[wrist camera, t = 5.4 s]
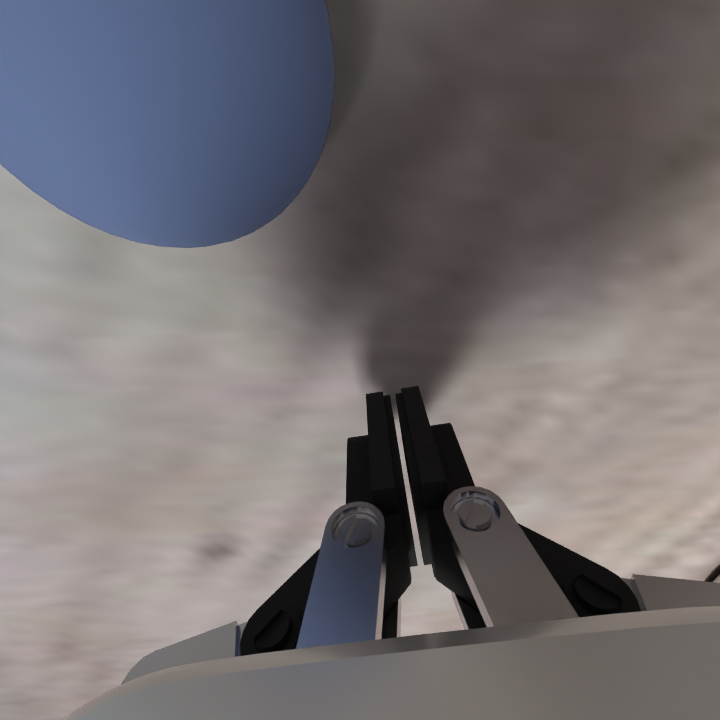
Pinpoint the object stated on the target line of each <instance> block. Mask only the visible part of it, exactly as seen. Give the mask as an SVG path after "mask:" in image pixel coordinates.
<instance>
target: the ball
mask: <svg viewBox="0 0 720 720" xmlns="http://www.w3.org/2000/svg"><path fill="white" fill-rule="evenodd" d="M333 96H334V51H333V44H332V37H331V30H330V23H329V17H328V12H327V8H326V4H325V0H0V164H1V165H2V166H3V167H4V168H5V169H6V170H8V171H9V172H10V173H11V174H12V175H14V176H15V177H16V178H17V179H19V180H20V181H21V182H22V183H23V184H25V185H26V186H27V187H28V188H29V189H31V190H32V191H33V192H35V193H36V194H38V195H39V196H41V197H42V198H44V199H45V200H47V201H48V202H49V203H51V204H52V205H54V206H55V207H57V208H58V209H60V210H62V211H64V212H65V213H67V214H69V215H71V216H73V217H75V218H76V219H78V220H80V221H82V222H84V223H86V224H88V225H90V226H92V227H95V228H97V229H100V230H102V231H104V232H107V233H109V234H112V235H115V236H118V237H121V238H125V239H128V240H131V241H135V242H139V243H144V244H150V245H155V246H163V247H179V248H193V247H206V246H211V245H216V244H220V243H225V242H229V241H233V240H235V239H238V238H240V237H243V236H245V235H248V234H250V233H252V232H254V231H256V230H257V229H259V228H261V227H262V226H264V225H265V224H267V223H269V222H270V221H272V220H273V219H274V218H276V217H277V216H278V215H279V214H280V213H281V212H282V211H284V210H285V208H286V207H287V206H288V205H289V204H290V203H291V202H292V201H293V200H294V199H295V197H296V196H297V195H298V194H299V192H300V191H301V190H302V188H303V187H304V185H305V184H306V182H307V181H308V179H309V177H310V176H311V174H312V172H313V170H314V168H315V166H316V164H317V162H318V160H319V157H320V155H321V153H322V150H323V147H324V144H325V140H326V136H327V132H328V128H329V124H330V120H331V114H332V106H333Z"/></svg>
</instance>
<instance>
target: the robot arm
mask: <svg viewBox="0 0 720 720" xmlns="http://www.w3.org/2000/svg"><path fill="white" fill-rule="evenodd" d="M401 392H402V393H399V394H395V395H396V402H397V408H398V415H399V421H400V428H401V434H402V441H403V447H404V454H405V460H406V466H407V472H408V478H409V483H410V489H411V495H412V500H413V506H414V511H415V517H416V523H417V528H418V534H419V540H420V545H421V551H422V556H423V562H424V565H428V564H432V568H433V573H434V577H436V580H437V581H439V582H440V583H442V584H443V585H444V586H446V587H447V588H448V589H450V590H451V592H452V597H453V600H454V603H455V605H456V608H457V611H458V613H459V616H460V618H461V621H462V624H463V626H464V629H465V630H459V631H450V632H440V633H432V634H423V635H414V636H405V637H400V630H401V598H400V597H401V595H402V594H403V593H404V592H405V590H406V589H407V588H408V586H409V585H410V584H411V580H412V579H411V572H410V567H412V566H417V559H416V553H415V547H414V541H413V535H412V528H411V522H410V516H409V510H408V504H407V497H406V491H405V485H404V479H403V473H402V466H401V460H400V454H399V448H398V442H397V435H396V429H395V423H394V417H393V411H392V405H391V398H390V395H386V396H383V391H382V392H376V393H369V394H366V404H367V422H368V435H365V436H358V437H351V438H348V440H347V479H346V504H345V505H343V506H341V507H340V508H338V509H337V510H336V511H334V513H333V514H332V515H331V516H330V517H329V519H328V522H327V524H326V527H325V531H324V535H323V539H322V543H321V547H320V549H319V550H318V551H317V552H316V553H314V554H313V555H312V556H311V557H310V558H309V559H308V560H307V561H306V562H305V563H304V564H303V565H302V566H301V567H300V568H299V569H298V570H297V571H296V572H295V573H294V574H293V575H292V576H291V577H290V578H289V579H288V580H287V581H286V582H285V583H284V584H283V585H282V586H281V587H280V588H279V589H278V590H277V591H276V592H275V593H274V594H273V595H272V596H271V597H270V598H269V599H268V600H267V601H266V602H265V603H264V604H263V605H262V606H260V607H259V608H258V609H257V610H256V612H255V613H254V614H253V615H252V617H251V618H250V619H249V620H248V622H245V623H243V624H240V625H238V623H237V621H235V622H232V623H229V624H227V625H224V626H221V627H218V628H216V629H213V630H210V631H208V632H205V633H202V634H200V635H197V636H194V637H192V638H189V639H186V640H183V641H181V642H178V643H175V644H173V645H170V646H167V647H165V648H162V649H159V650H156V651H154V652H152V653H151V654H149V655H147V656H145V657H143V658H142V659H141V660H140V661H139V662H138V663H137V664H136V665H135V666H134V667H133V668H132V669H131V670H130V672H129V673H128V674H127V676H126V677H125V679H124V680H123V682H122V684H121V685H120V686H118V687H116V688H114V689H112V690H110V691H108V692H106V693H104V694H102V695H101V696H99V697H97V698H95V699H94V700H92V701H90V702H88V703H87V704H85V705H84V706H82V707H81V708H79V709H78V710H76V711H75V712H73V713H72V714H70V715H69V716H68V717H66V718H65V719H63V720H720V575H718V576H717V577H716V578H715V579H714V581H713V582H705V581H695V580H685V579H675V578H665V577H655V576H645V575H635V574H632V577H631V579H625V578H620V577H619V576H617V575H616V574H614V573H613V572H611V571H609V570H608V569H606V568H604V567H602V566H600V565H598V564H597V563H595V562H593V561H591V560H589V559H587V558H585V557H583V556H581V555H579V554H577V553H575V552H573V551H571V550H569V549H567V548H565V547H563V546H561V545H559V544H558V543H556V542H554V541H552V540H550V539H548V538H546V537H544V536H542V535H540V534H538V533H536V532H534V531H532V530H530V529H528V528H526V527H524V526H522V525H520V524H519V523H517V521H516V520H515V518H514V517H513V515H512V514H511V512H510V511H509V509H508V508H507V506H506V505H505V503H504V502H503V501H502V500H501V498H500V497H499V496H498V495H496V494H495V493H493V492H492V491H490V490H488V489H485V488H482V487H475V485H474V482H473V480H472V477H471V474H470V472H469V469H468V467H467V464H466V461H465V459H464V456H463V453H462V451H461V448H460V446H459V443H458V440H457V438H456V435H455V433H454V430H453V427H452V425H451V424H450V423H446V424H439V425H432V426H430V424H429V420H428V417H427V414H426V410H425V407H424V404H423V400H422V397H421V394H420V390H419V387H418V386H414V387H408V388H402V389H401Z"/></svg>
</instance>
